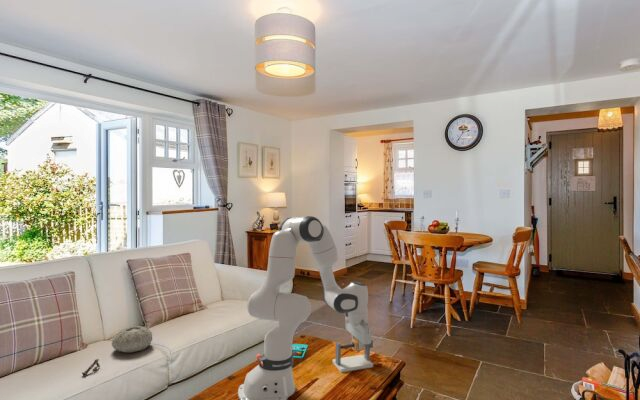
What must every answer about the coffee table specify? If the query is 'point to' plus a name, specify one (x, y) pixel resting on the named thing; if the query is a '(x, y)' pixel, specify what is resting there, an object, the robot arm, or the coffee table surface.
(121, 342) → the rock
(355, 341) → the marker sleeve
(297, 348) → the handheld gaming console
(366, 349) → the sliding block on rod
